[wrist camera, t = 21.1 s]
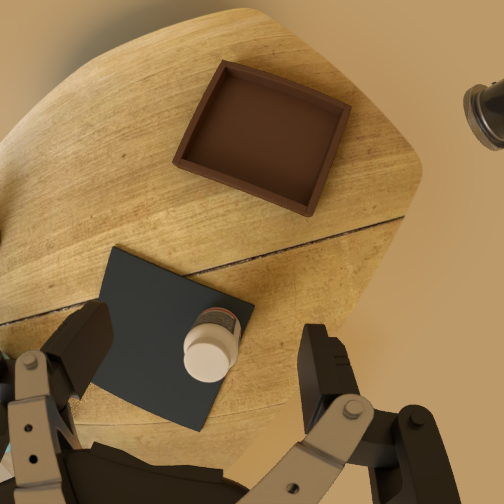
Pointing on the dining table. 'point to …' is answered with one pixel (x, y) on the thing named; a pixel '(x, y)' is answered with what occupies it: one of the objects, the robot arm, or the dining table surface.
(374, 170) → the dining table surface
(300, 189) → the tray
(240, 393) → the dining table surface
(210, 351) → the pill bottle
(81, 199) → the dining table surface
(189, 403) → the mat
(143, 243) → the dining table surface
